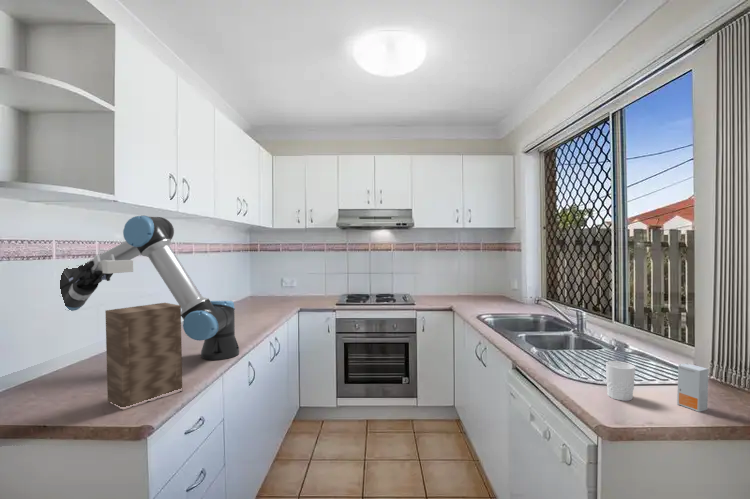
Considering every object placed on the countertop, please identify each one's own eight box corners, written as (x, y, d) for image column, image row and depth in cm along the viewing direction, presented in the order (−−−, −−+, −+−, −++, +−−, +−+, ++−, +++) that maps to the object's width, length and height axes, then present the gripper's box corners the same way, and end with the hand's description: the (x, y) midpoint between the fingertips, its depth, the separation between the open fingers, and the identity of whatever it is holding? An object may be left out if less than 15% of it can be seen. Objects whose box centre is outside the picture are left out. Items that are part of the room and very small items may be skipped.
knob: (85, 271, 150) (85, 259, 150) (110, 269, 156) (110, 258, 156) (107, 273, 139) (107, 261, 139) (133, 271, 146) (132, 260, 146)
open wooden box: (166, 385, 143) (164, 302, 142) (182, 391, 137) (180, 305, 136) (107, 402, 128) (105, 310, 127) (122, 410, 122) (120, 314, 121)
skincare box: (676, 404, 125) (677, 364, 124) (685, 402, 127) (686, 362, 126) (699, 412, 119) (700, 370, 119) (708, 410, 121) (709, 368, 121)
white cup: (608, 390, 137) (608, 359, 136) (636, 396, 132) (637, 364, 131) (602, 397, 131) (603, 365, 130) (632, 403, 126) (633, 370, 125)
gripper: (110, 293, 167) (134, 265, 155) (59, 298, 153) (80, 268, 141) (106, 276, 169) (128, 247, 157) (54, 280, 155) (75, 249, 143)
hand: (105, 257), depth 149 cm, fingers closed on knob, 4 cm apart
